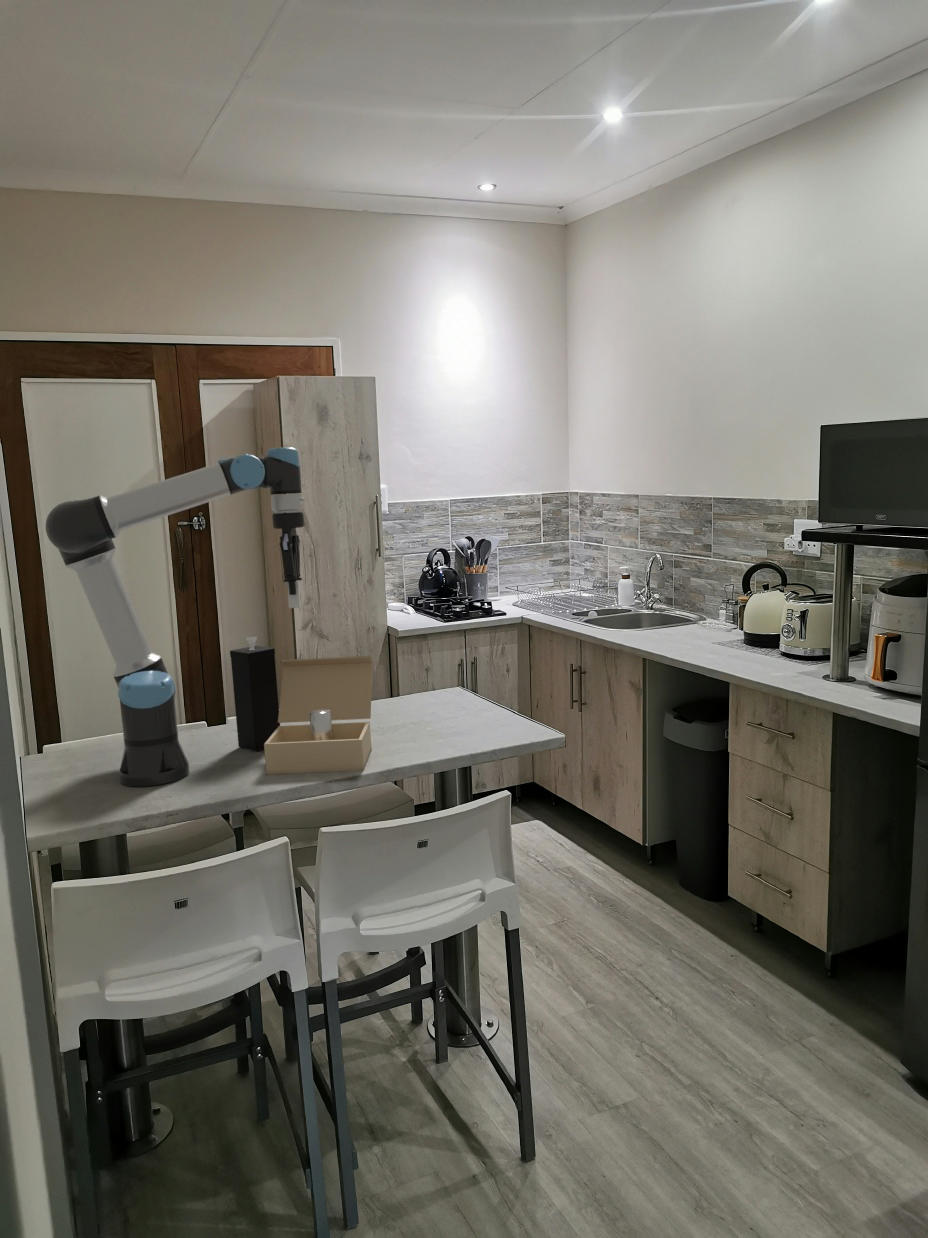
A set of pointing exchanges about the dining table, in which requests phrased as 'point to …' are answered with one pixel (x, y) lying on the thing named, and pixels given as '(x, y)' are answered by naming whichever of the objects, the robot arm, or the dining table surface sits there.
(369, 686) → the lid
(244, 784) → the dining table surface
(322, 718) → the tin
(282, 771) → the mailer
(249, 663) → the black pedestal
